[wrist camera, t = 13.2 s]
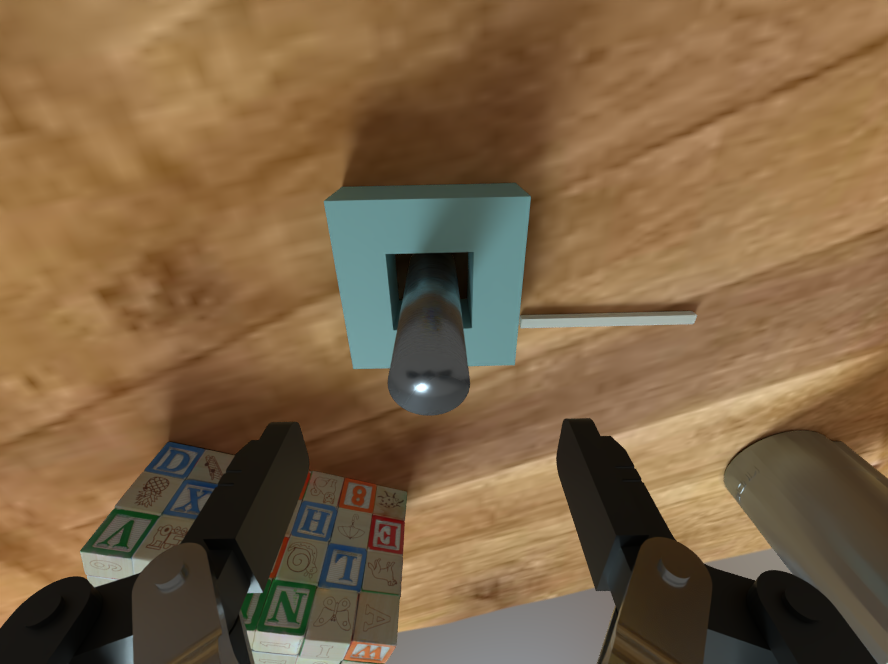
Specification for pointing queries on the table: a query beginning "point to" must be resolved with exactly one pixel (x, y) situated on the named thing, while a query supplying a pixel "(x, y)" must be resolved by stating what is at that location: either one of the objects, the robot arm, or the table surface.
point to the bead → (430, 231)
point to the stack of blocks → (297, 564)
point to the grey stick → (607, 319)
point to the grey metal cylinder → (430, 339)
